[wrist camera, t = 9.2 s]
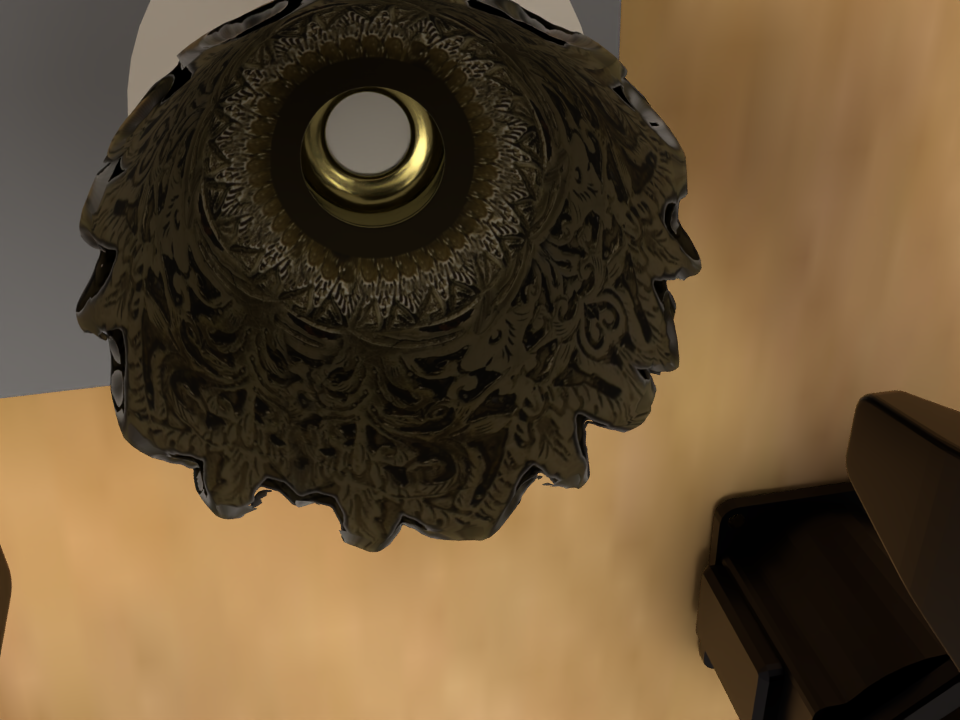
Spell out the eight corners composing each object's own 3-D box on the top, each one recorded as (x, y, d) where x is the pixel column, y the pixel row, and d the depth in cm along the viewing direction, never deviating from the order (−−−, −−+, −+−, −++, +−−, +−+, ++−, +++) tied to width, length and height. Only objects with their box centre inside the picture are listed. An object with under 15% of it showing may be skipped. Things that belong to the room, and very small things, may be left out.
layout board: (603, -174, 17) (630, -175, 16) (591, 299, 22) (612, 331, 21) (-589, -121, 15) (-687, -117, 13) (-302, 399, 20) (-350, 444, 18)
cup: (623, 42, 18) (825, 168, 11) (454, 351, 20) (529, 609, 14) (252, -163, 15) (208, -169, 8) (115, 224, 18) (-6, 462, 11)
